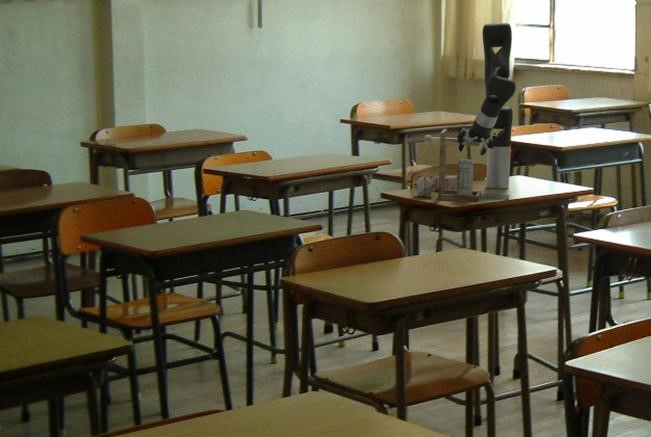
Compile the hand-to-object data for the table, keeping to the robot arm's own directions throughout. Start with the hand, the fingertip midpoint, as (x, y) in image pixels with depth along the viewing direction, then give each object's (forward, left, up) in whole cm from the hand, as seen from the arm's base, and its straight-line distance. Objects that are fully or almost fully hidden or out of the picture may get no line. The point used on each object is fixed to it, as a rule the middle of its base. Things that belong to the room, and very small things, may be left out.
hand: (470, 152), depth 469 cm
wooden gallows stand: (-2, -3, -18) cm, 19 cm away
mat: (-8, +10, -18) cm, 23 cm away
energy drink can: (-2, -2, -19) cm, 19 cm away
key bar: (-2, -7, +2) cm, 8 cm away
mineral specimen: (-21, -11, -19) cm, 30 cm away
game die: (-3, -18, -19) cm, 26 cm away
